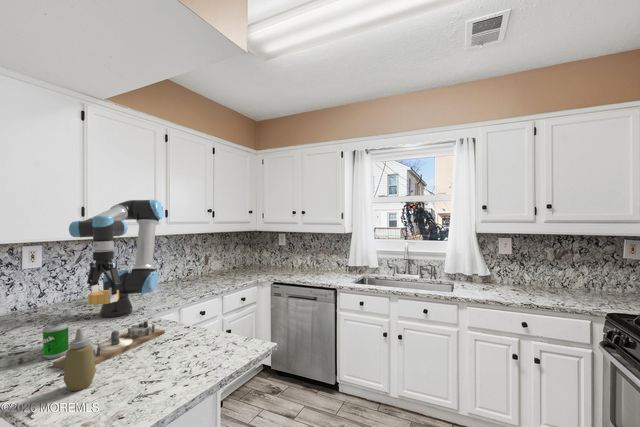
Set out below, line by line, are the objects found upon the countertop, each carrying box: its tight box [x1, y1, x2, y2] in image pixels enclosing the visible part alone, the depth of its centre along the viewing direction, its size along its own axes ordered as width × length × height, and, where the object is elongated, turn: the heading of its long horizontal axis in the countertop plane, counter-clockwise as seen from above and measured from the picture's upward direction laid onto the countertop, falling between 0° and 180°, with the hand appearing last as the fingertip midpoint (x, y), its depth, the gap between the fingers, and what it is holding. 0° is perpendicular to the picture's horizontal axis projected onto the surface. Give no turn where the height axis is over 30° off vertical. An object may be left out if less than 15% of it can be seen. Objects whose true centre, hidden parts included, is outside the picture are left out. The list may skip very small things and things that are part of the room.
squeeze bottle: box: [63, 327, 97, 392], centre depth 97 cm, size 8×8×18 cm
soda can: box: [42, 321, 70, 360], centre depth 119 cm, size 8×8×12 cm
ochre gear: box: [87, 289, 119, 306], centre depth 135 cm, size 11×11×4 cm
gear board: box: [52, 320, 166, 370], centre depth 125 cm, size 36×14×7 cm, turn 160°
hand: (103, 301), depth 135 cm, fingers closed on ochre gear, 11 cm apart
